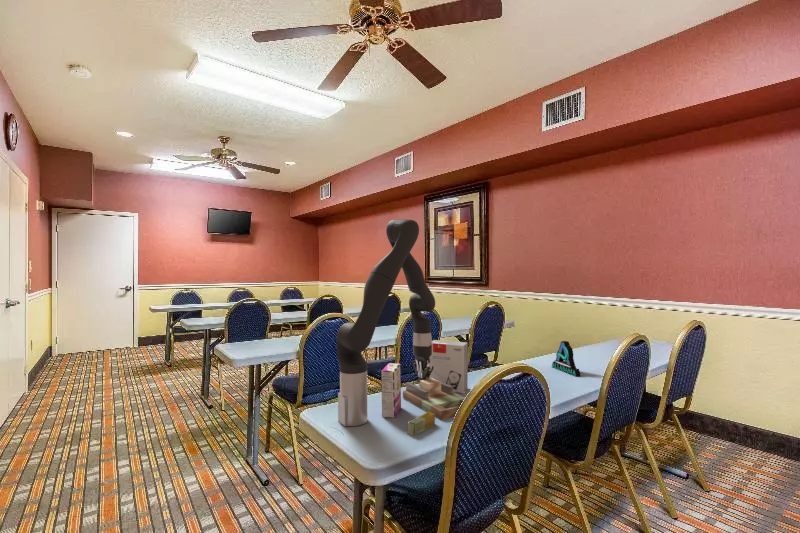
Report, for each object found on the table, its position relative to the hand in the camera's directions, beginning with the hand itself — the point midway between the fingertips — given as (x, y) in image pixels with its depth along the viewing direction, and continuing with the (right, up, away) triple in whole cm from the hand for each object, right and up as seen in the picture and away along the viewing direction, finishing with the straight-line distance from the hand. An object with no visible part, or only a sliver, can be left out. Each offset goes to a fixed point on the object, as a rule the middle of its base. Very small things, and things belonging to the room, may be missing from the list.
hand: (422, 386), depth 161 cm
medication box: (-2, -5, -32) cm, 32 cm away
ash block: (+3, -1, -5) cm, 6 cm away
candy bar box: (-12, -4, -17) cm, 21 cm away
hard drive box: (+12, -4, +10) cm, 16 cm away
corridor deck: (+5, -4, -10) cm, 12 cm away
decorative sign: (+73, -4, +36) cm, 81 cm away
